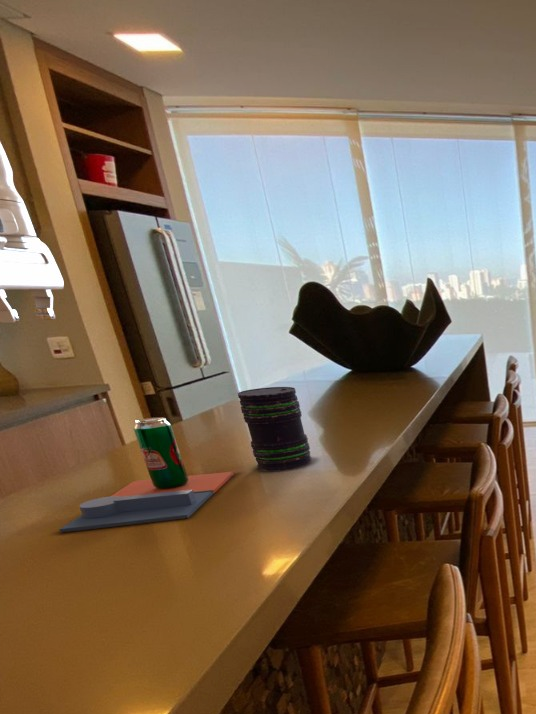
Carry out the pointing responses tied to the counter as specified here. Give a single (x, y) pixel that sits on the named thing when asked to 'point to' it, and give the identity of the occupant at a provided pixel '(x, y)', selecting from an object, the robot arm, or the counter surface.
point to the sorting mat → (202, 491)
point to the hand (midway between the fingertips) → (29, 321)
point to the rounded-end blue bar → (135, 503)
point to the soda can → (160, 453)
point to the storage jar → (275, 428)
